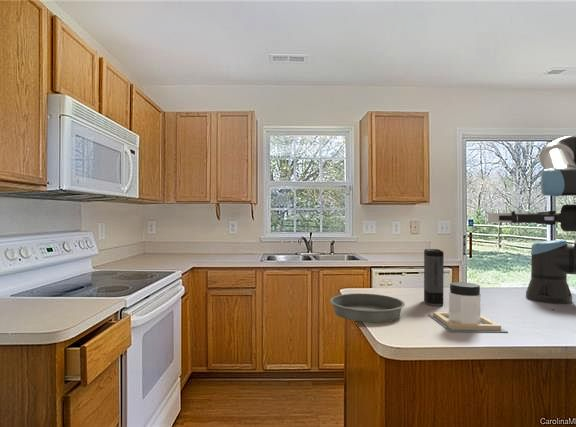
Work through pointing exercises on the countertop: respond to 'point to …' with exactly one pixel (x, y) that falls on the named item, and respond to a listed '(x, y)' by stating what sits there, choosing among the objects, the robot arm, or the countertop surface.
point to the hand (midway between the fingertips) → (495, 217)
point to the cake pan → (367, 307)
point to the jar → (464, 303)
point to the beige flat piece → (484, 325)
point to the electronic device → (433, 277)
